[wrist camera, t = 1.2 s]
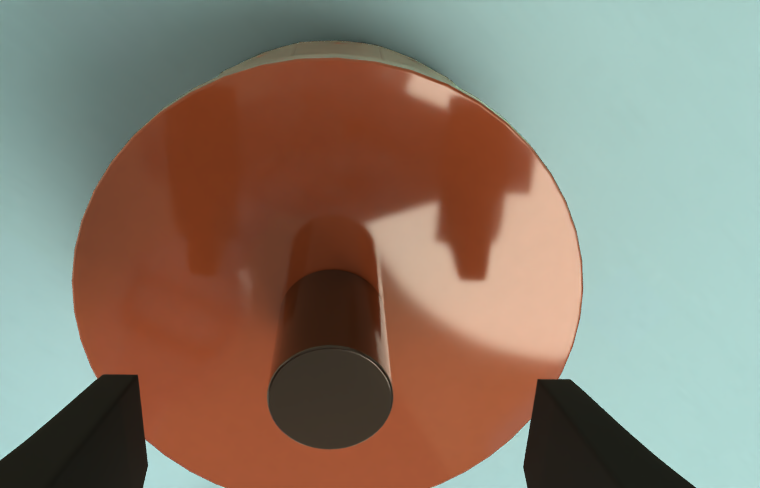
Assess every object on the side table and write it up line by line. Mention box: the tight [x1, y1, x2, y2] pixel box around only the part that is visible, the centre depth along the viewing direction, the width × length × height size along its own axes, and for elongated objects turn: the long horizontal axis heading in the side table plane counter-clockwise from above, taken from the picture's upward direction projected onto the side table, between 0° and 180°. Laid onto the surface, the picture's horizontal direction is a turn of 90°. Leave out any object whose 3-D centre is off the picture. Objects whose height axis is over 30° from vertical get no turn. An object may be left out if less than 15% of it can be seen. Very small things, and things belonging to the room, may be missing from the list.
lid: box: [72, 54, 583, 488], centre depth 16 cm, size 12×12×4 cm
